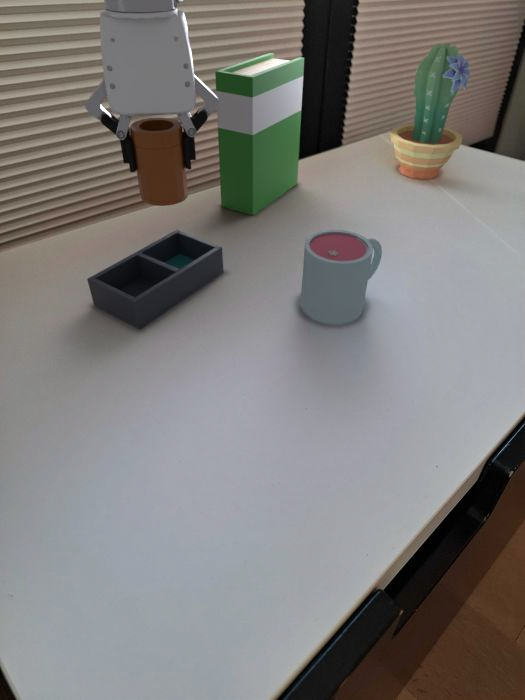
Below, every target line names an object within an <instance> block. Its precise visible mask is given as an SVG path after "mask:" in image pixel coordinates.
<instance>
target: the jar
mask: <svg viewBox="0 0 525 700" xmlns="http://www.w3.org/2000/svg"><path fill="white" fill-rule="evenodd" d="M129 129H130V132H131V138H132V144H133V150H134V157H135V163H136V176H137V182H138V189H139V195H140V199H141V201H142V202H144V203H145V204H148V205H149V206H150V205H151V206H157V207H162V206H163V207H164V206H166V207H168V206H173V205H174V206H175V205H177V204H180V203H182V202H184V201H185V200H186V199H187V198H188V197H189V189H188V180H187V179H188V178H187V169H186V166H185V156H184V145H183V132H184V131H183V125H182V123H181V121H180V120H177V119H174V118H169V117H148V118H142V119H139V120H135V121H134V122H133V123H130V124H129Z"/></svg>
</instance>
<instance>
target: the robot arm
mask: <svg viewBox="0 0 525 700" xmlns="http://www.w3.org/2000/svg"><path fill="white" fill-rule="evenodd" d="M183 1H184V0H103V2H104V8H105V10H104V11H101V12H100V13H99V34H100V50H101V51H100V52H101V60H102V61H101V62H102V70H103V71H102V72H103V79H102V80H101V81H100V83H99V84H98V85H97V87H96V88H95V89H94V90H93V92H92V93H91V95H90V96H89V98H87V100H86V102H85V104H84V108H85V110H86V111H87V112H88V113H90V115H92V116H93V117H94V118H95V119H97V120H98V121H100V122H101V124H102V125H103V126H104V127H106V128H107V129H108V130H109V131H110V132H112V133H113V134H114V135H115V137H116V138H117V140H119V142H120V149H121V154H122V161H123V164H128V166H129V172H130V173H136V172H137V170H136V163H135V157H134V150H133V144H132V138H131V131H130V125H131V119H132V117H134V116H135V117H137V116H162V115H163V116H164V115H165V116H166V115H177V118H178V119H179V122H181V123H182V129H183V131H182V132H183V145H184V156H185V166H186V171H187V170H192V161H196V160H197V156H196V155H197V154H196V143H195V137H196V135H197V132H198V131H199V130H201V128H202V127H203V125H204V124H205V123H206V122H207V121H208V118H209V117H210V116H211V115H213V113H214V111H215V110H217V107H218V105H219V99H218V97H217V96H216V93H214V92H213V91H212V90H211V89H210V88H209V87H208V86H207V85H206V84H205V83H204V81H202V80H201V79H200V78H199V77H197V75H195V70H194V69H195V68H194V59H193V52H192V44H191V38H190V32H189V27H188V22H187V18H186V15H185V11H183V10H179V9H178V4H180V2H183ZM197 96H198V97H199V98H201V99H202V100H203V104H202V105H201V107H199V108H198V109H197V110H196V111H195V113H194V114H193V115H192V114H191V113H190V112H192V111H193V110H194V109H195V108H196V105H197ZM106 98H107V103H108V106H109V109H110V111H112V112H113V113H115V114H116V115H119V118H117V117H116V116H115V115H114V114H112V113H111V112H109V111H108V110H107V109H106V108H105V107H104V106H103V105H102V103H103V102H104V100H105V99H106Z"/></svg>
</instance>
